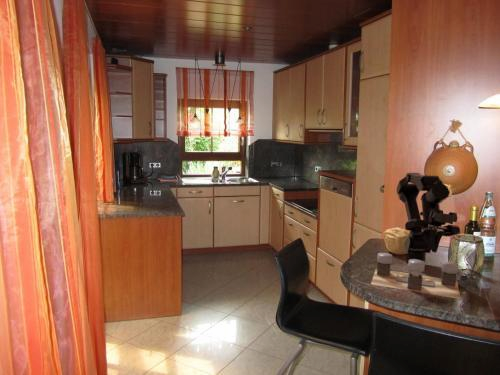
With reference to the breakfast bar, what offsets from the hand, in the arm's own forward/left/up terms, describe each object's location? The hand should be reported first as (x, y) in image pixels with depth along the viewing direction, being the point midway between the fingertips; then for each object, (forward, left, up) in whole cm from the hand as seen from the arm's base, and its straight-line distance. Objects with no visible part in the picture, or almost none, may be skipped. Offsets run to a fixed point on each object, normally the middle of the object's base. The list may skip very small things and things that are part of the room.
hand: (434, 252), depth 145 cm
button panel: (+7, -1, -11) cm, 14 cm away
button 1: (+11, -11, -8) cm, 18 cm away
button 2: (-3, +4, -8) cm, 10 cm away
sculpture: (-16, -32, -12) cm, 37 cm away
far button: (+11, +3, -6) cm, 13 cm away
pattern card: (+6, -2, -10) cm, 12 cm away
